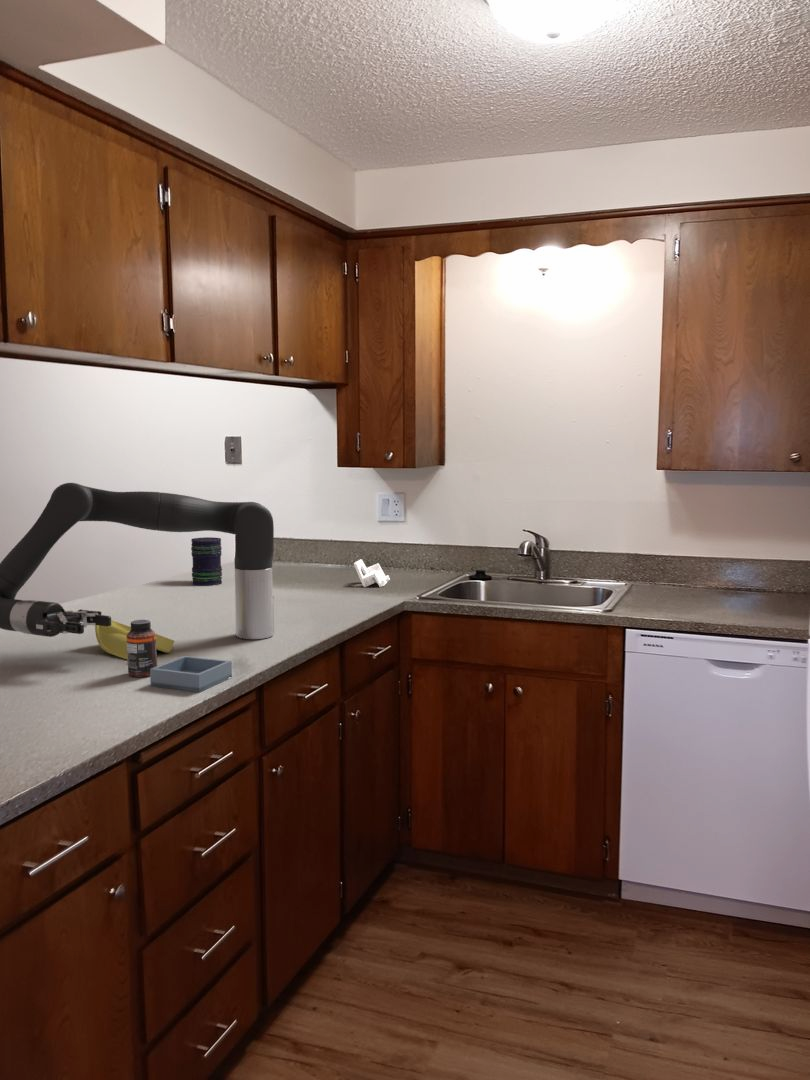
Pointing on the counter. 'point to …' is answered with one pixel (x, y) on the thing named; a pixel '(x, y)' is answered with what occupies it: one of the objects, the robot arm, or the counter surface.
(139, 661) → the supplement bottle
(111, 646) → the plastic component
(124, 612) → the counter surface
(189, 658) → the parts tray
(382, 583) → the mounting bracket
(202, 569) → the storage jar
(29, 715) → the counter surface
